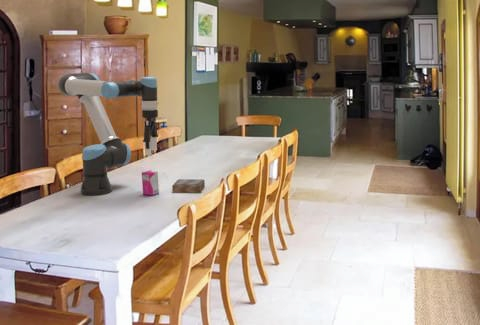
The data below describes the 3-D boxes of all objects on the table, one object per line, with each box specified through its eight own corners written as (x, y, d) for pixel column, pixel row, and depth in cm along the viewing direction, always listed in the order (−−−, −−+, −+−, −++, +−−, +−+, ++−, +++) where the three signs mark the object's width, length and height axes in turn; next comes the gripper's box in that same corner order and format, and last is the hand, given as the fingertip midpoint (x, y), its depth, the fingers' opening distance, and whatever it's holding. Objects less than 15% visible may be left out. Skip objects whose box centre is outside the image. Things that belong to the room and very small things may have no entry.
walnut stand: (172, 192, 287) (172, 184, 286) (178, 186, 301) (177, 178, 300) (200, 192, 286) (200, 185, 285) (204, 186, 299) (204, 178, 299)
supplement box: (151, 192, 288) (150, 170, 286) (159, 194, 284) (158, 171, 282) (142, 194, 284) (141, 171, 281) (150, 196, 280) (149, 173, 278)
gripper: (152, 112, 265) (153, 157, 269) (162, 106, 289) (163, 148, 293) (136, 112, 265) (137, 157, 269) (147, 106, 290) (149, 148, 294)
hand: (151, 152), depth 281 cm, fingers open, 13 cm apart
